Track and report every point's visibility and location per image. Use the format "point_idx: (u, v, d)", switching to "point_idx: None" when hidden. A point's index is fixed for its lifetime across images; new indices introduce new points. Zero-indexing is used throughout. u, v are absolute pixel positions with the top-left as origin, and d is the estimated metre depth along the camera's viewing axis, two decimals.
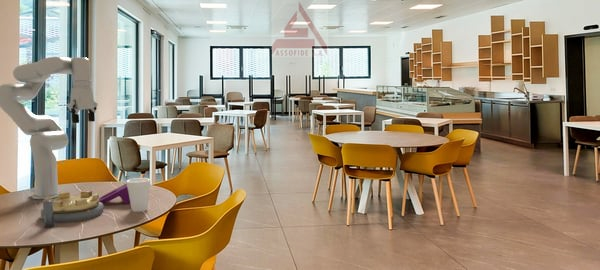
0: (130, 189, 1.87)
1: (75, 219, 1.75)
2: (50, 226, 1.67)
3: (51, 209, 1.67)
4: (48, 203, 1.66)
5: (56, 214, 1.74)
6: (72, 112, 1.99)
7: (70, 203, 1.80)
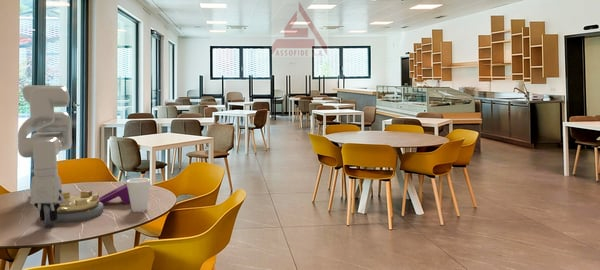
0: (130, 189, 1.87)
1: (75, 219, 1.75)
2: (50, 226, 1.67)
3: None
4: (48, 203, 1.66)
5: None
6: (57, 207, 1.68)
7: (70, 203, 1.80)
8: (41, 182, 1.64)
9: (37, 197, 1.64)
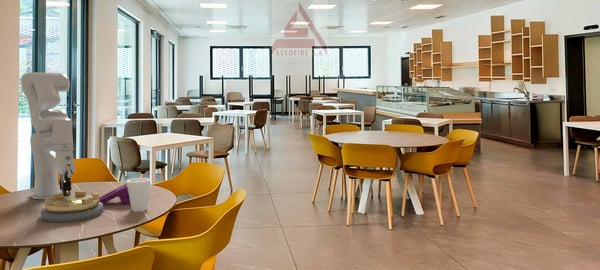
0: (130, 189, 1.87)
1: (75, 219, 1.75)
2: None
3: None
4: None
5: (56, 214, 1.74)
6: None
7: (74, 203, 1.80)
8: None
9: None
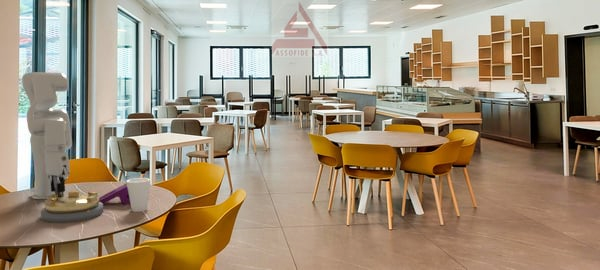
0: (130, 189, 1.87)
1: (75, 219, 1.75)
2: None
3: None
4: None
5: (56, 214, 1.74)
6: None
7: (78, 202, 1.81)
8: None
9: None
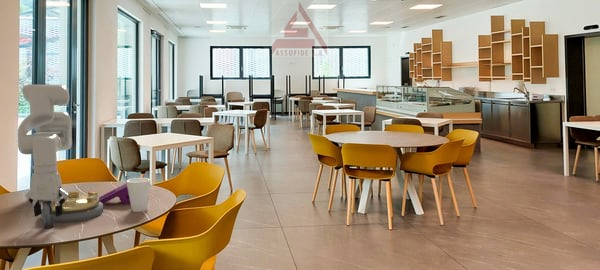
0: (130, 189, 1.87)
1: (75, 219, 1.75)
2: (50, 226, 1.67)
3: (51, 209, 1.67)
4: (48, 203, 1.66)
5: None
6: (63, 203, 1.67)
7: (78, 202, 1.81)
8: (41, 178, 1.64)
9: (37, 194, 1.64)
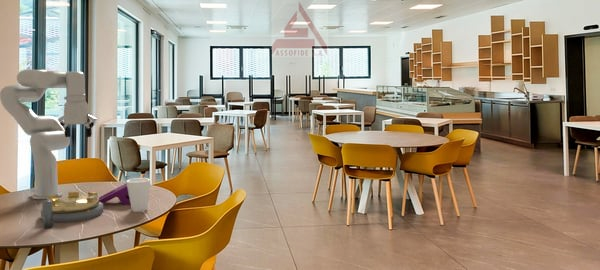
0: (130, 189, 1.87)
1: (75, 219, 1.75)
2: (50, 226, 1.67)
3: (51, 209, 1.67)
4: (48, 203, 1.66)
5: (56, 214, 1.74)
6: (92, 126, 2.02)
7: (78, 202, 1.81)
8: (73, 106, 1.98)
9: (69, 119, 1.99)
